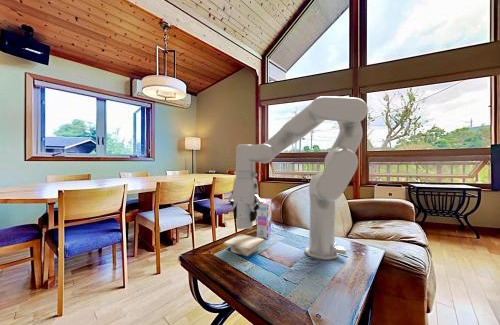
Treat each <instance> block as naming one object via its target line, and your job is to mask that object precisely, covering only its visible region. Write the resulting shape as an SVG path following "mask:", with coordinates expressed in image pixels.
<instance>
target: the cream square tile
mask: <svg viewBox="0 0 500 325" xmlns="http://www.w3.org/2000/svg"><path fill="white" fill-rule="evenodd" d="M265 242H266V239H262V238H257V237H256V236H252V235H246V234H243V233H239V234H237V235H236V236H233V237H231V238H229V239H228V240H226V241H224V242H223V246H225V247H230V252H231V253H234V254H238V255H242V256H245V257H249V256H251V255H252V254H254V253H256V251H258V250H259V246H260V245H262V244H263V243H265Z"/></svg>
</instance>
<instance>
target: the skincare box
mask: <svg viewBox="0 0 500 325" xmlns="http://www.w3.org/2000/svg"><path fill="white" fill-rule="evenodd" d="M251 211H252V210H251V208H250V205H248V204H244V203H243V199H242V198H238V203H237V218H236V219H235V220H236V222H235V224H236V225H235V226H236V228H237V230H247V229H253V224H254V223H253V222H254V221H253V222H251V221H250V212H251Z"/></svg>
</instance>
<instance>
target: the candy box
mask: <svg viewBox="0 0 500 325" xmlns="http://www.w3.org/2000/svg"><path fill="white" fill-rule="evenodd" d="M260 199H261V200H262V201H263V204H262V205H261V206H260V208H259V209H258V210H257V211H256V220H255V237H257V238H262V239H265V240H268V239H269V237H270V234H271V232H272V198H260ZM255 204H256V205H257V204H258V203H255Z"/></svg>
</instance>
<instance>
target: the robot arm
mask: <svg viewBox="0 0 500 325" xmlns="http://www.w3.org/2000/svg"><path fill="white" fill-rule="evenodd" d="M368 112H369V108H368V104H367V103H366V101H364V100H363V99H362V98H358V97H347V96H346V97H345V96H343V97H342V96H330V95H329V96H327V95H326V96H318V97H316V98H314V100H312V101H311V102H310V103H309V105H306V107H305V108H304V109H302V110H300V111H299V112H298V113H297V114H296V115H295V116H293V117H292V118H291V119H288V121H286V123H284V124H283V126H281V128H280V129H279V130H278V131H277V132H276V133H275V134H274V135H273V136H272V137H270V138H269V139H268V140H266V141H265V142H264V143H261V144H250V143H249V144H247V143H242V144H241V143H239V144H238V145H236V150H235V151H236V152H235V154H236V155H235V178H234V180H233V184H232V185H233V186H232V193H231V195H229V196H228V197H227V200H228V201H229V203H230V205H231V206H232V209H233V219H235V220H236V218H237V203H238V198H242V199H243V203H244V204H248V205H250V208H251V210H252V211H251V212H250V221H251V222H256V211H257V210H258V209H259V208H260V206H261V205H262V204H263V201H262V200H261V199H262V198H260V197H259V186H258V179H257V178H256V177H258V173H257V172H256V163H261V164H269V163H270V162H272V161H273V159H274V158H275V157H277V156H279V154H280V153H282V152H284V150H286V149H288V148H289V147H291V145H293V144H296V143H297V142H299V141H301V139H303V138H304V137H305V136H307V135H308V134H309V133H311V131H313V130H314V129H316V128H317V127H318V126H320V124H323V123H324V122H325V121H330V122H331V121H332V122H336V123H337V125H338V127H339V131H338V135H337V137H336V139H335V141H334V143H333V144H332V146H331V148H330V150H329V151H328V153H327V154H326V156H325V158H324V167H325V168H324V170H323V172H319V173H317V174H315V175H313V176H312V177H311V178H310V180H309V184H308V186H309V187H308V191H309V192H308V195H309V232H308V234H309V239H308V240H309V241H308V242H309V243H308V245H306V247H304V248H305V249H304V251H305V254H306V255H307V256H309V257H311V258H314V259H316V260H317V259H318V260H322V261H323V260H324V261H328V260H329V261H331V260H335V259H337V258H338V257H339V254H340V255H344V256H346V255H347V249H345V247H344V246H338V244H337V241H335V238H336V237H335V235H336V229H335V228H336V201H337V200H338V199H339V198H340V197H341V196H342V195H343V193H344V192H345V190H346V189H347V187H348V185H349V184H350V182H351V180H352V178H353V177H354V175H355V173H356V171H357V169H358V166H359V160H358V155H357V154H356V152H357V150H358V148H359V147H360V144H361V142H362V139H363V127H362V123H361V121H363V120H364V119H365V118H366V117H367V115H368ZM256 203H258V204H257V205H256Z"/></svg>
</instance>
